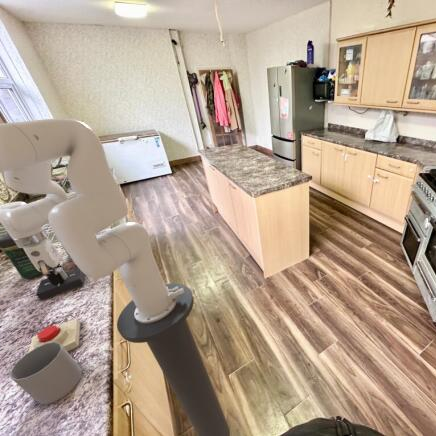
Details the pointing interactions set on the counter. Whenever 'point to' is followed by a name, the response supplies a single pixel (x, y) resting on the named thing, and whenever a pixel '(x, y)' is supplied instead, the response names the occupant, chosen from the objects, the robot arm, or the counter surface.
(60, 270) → the timer knob
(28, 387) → the cup
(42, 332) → the power button
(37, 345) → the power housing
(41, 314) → the counter surface
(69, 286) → the fryer panel
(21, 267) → the coffee jar
